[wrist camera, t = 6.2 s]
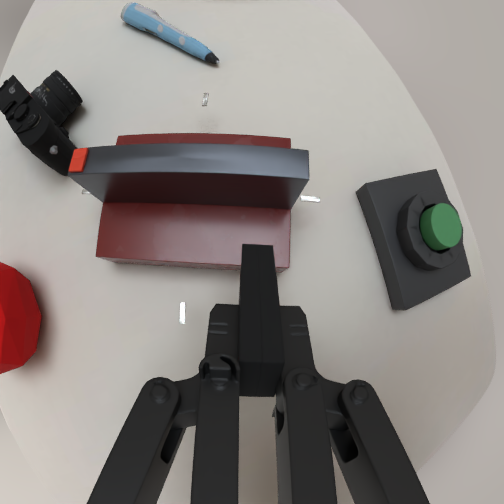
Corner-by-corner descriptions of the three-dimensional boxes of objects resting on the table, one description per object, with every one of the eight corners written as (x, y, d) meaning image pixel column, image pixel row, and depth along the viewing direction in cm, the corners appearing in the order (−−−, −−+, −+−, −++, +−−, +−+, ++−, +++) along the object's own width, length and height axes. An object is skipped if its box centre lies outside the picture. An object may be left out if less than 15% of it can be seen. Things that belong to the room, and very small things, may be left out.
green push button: (454, 244, 20) (466, 240, 19) (427, 255, 20) (439, 252, 18) (441, 205, 21) (453, 199, 19) (413, 213, 21) (425, 207, 19)
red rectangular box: (305, 123, 25) (314, 101, 22) (305, 324, 22) (317, 329, 19) (120, 119, 24) (108, 99, 21) (89, 308, 22) (68, 308, 18)
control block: (457, 277, 24) (483, 274, 20) (392, 309, 23) (417, 311, 19) (424, 176, 25) (446, 161, 21) (355, 191, 24) (374, 174, 20)
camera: (117, 134, 24) (85, 85, 16) (67, 189, 23) (19, 155, 15) (60, 84, 25) (33, 46, 17) (21, 126, 24) (-14, 94, 16)
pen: (120, 23, 27) (115, 9, 24) (138, 12, 27) (134, -2, 25) (209, 73, 26) (207, 55, 23) (231, 59, 26) (231, 41, 23)
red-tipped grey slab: (291, 186, 20) (309, 147, 15) (291, 209, 20) (310, 177, 14) (107, 180, 20) (72, 147, 14) (102, 202, 19) (65, 173, 14)
